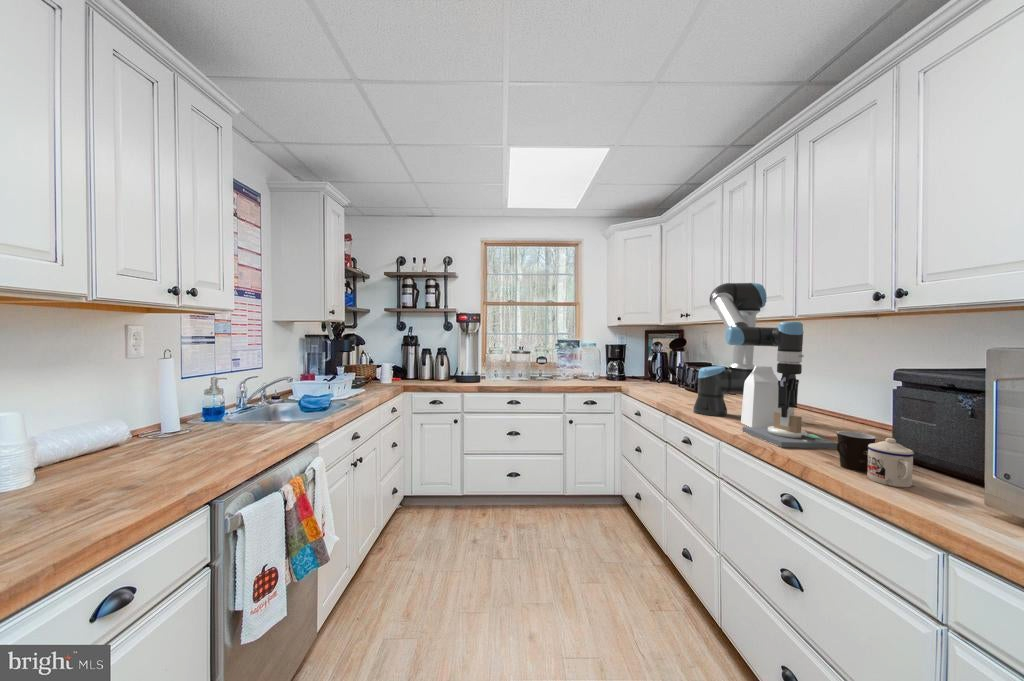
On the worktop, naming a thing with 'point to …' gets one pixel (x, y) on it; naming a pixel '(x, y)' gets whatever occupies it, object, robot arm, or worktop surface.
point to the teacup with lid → (890, 463)
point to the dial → (790, 431)
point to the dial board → (789, 439)
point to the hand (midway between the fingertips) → (786, 425)
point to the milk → (760, 398)
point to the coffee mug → (854, 450)
